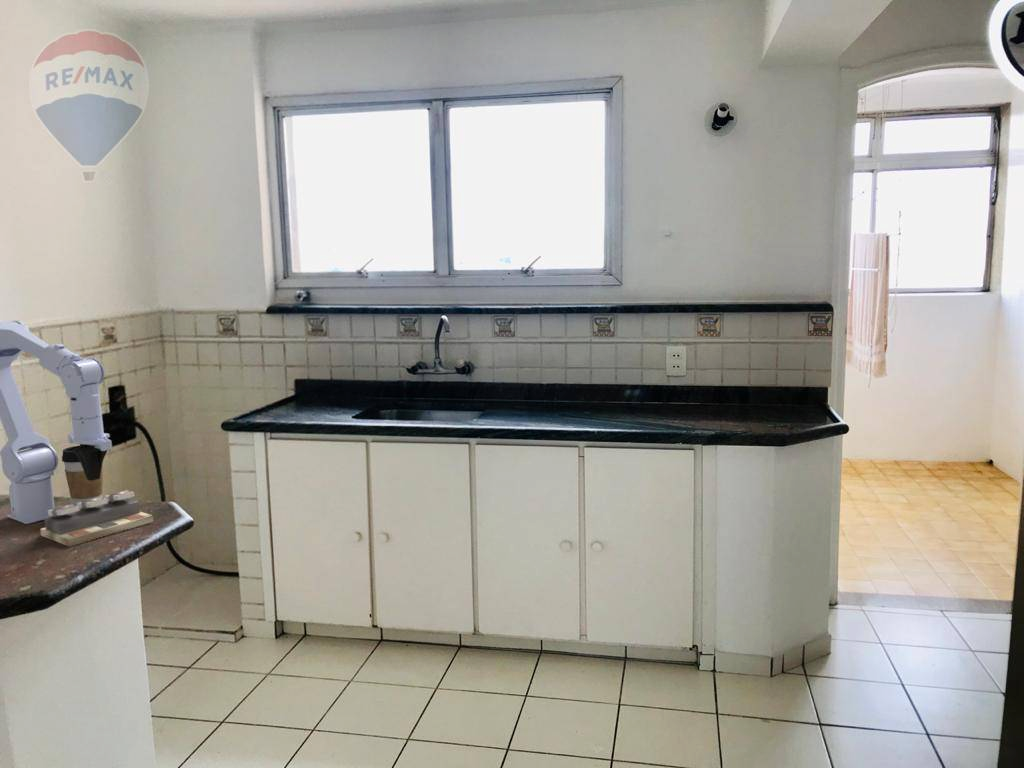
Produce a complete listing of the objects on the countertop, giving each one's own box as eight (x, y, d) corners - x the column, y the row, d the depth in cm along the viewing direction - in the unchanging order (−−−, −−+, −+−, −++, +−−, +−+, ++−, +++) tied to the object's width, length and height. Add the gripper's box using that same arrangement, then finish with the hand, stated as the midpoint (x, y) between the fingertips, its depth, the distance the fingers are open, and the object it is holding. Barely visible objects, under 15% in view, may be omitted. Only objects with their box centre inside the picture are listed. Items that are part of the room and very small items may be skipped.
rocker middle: (77, 509, 176) (75, 501, 176) (94, 505, 179) (93, 496, 179) (90, 509, 173) (89, 501, 172) (108, 504, 176) (107, 496, 175)
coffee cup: (91, 516, 184) (84, 451, 182) (59, 515, 186) (51, 450, 183) (116, 505, 192) (110, 442, 190) (85, 503, 194) (78, 441, 191)
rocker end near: (48, 517, 171) (46, 508, 171) (66, 512, 174) (65, 504, 174) (61, 517, 168) (60, 508, 168) (80, 512, 171) (78, 503, 171)
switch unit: (41, 535, 172) (38, 517, 171) (124, 512, 186) (122, 495, 186) (69, 546, 165) (67, 527, 164) (153, 522, 179) (151, 504, 179)
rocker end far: (104, 502, 181) (103, 494, 181) (121, 498, 184) (120, 490, 184) (118, 502, 177) (117, 494, 177) (135, 497, 180) (133, 489, 180)
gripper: (123, 416, 172) (129, 479, 175) (88, 410, 181) (95, 470, 183) (89, 422, 167) (96, 487, 169) (55, 415, 175) (62, 477, 178)
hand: (93, 479), depth 176 cm, fingers closed
